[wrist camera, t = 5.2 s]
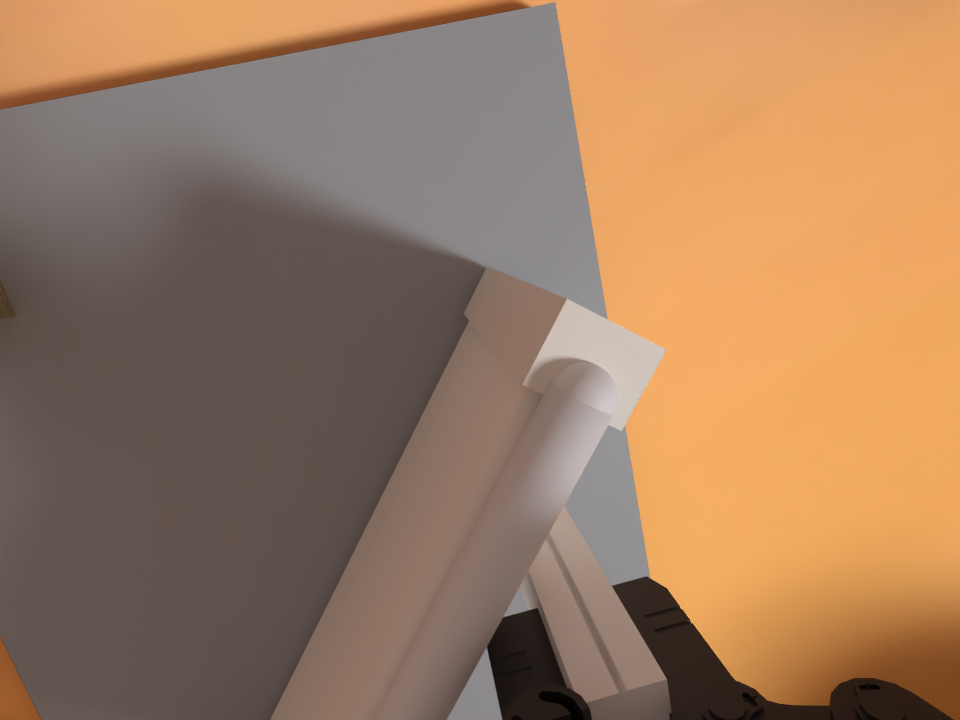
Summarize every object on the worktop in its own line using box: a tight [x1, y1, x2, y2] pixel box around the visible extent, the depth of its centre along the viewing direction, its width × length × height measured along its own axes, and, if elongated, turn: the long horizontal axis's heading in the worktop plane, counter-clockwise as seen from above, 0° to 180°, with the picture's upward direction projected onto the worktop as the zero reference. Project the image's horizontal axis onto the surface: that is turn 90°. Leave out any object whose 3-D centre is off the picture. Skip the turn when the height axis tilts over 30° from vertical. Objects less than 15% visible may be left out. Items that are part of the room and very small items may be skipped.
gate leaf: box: [270, 267, 666, 720], centre depth 15 cm, size 18×2×9 cm, turn 153°
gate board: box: [0, 3, 650, 720], centre depth 20 cm, size 27×21×1 cm
